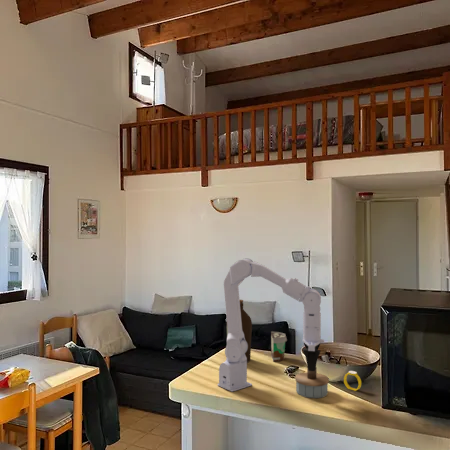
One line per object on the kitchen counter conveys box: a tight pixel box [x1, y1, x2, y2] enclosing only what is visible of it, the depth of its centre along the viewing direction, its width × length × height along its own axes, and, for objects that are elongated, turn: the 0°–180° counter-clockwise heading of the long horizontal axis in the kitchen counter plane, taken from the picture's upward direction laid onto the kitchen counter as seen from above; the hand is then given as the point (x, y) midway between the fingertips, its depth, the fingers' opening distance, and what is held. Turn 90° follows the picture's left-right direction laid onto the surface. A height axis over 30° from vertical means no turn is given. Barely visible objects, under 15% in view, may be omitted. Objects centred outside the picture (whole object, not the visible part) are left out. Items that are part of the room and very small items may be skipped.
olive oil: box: [225, 299, 253, 363], centre depth 178 cm, size 11×11×25 cm
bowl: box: [295, 381, 329, 399], centre depth 143 cm, size 10×10×4 cm
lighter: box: [321, 354, 331, 363], centre depth 156 cm, size 7×2×8 cm, turn 38°
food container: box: [270, 331, 288, 363], centre depth 181 cm, size 12×6×10 cm, turn 179°
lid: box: [294, 366, 330, 386], centre depth 143 cm, size 11×11×4 cm
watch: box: [343, 370, 362, 392], centre depth 146 cm, size 6×3×6 cm, turn 43°
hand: (311, 367), depth 143 cm, fingers open, 7 cm apart
